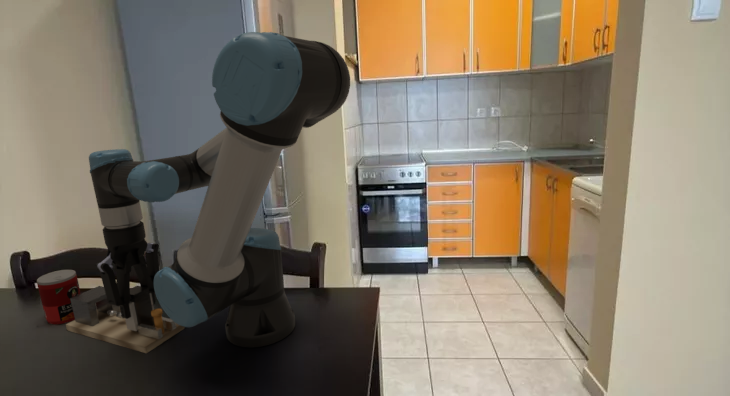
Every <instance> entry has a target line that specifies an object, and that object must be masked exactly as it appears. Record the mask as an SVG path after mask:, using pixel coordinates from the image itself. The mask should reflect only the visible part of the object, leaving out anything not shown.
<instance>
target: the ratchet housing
mask: <svg viewBox="0 0 730 396" xmlns="http://www.w3.org/2000/svg"><path fill="white" fill-rule="evenodd" d="M70 300H71V304H72V308H73V313H74V317H75V321H76V322H78V323H82V324H85V325H89V326H94V325H96V324H98V323H99V319H98V315H97V311H99V312H103V313H107V311H108V310H113V311H117V312H120V309H119V306H115V305H111V304H109V303H108V300H107V296H106V293H105V289H104V286H103V285H102V286H101V285H97V286H96V287H94V288H93V287H92V288H91V289H89V290H86V291H84V292H81V294H79V295H77V296H75V297H72V298H70Z"/></svg>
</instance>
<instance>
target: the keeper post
mask: <svg viewBox="0 0 730 396" xmlns="http://www.w3.org/2000/svg"><path fill="white" fill-rule="evenodd" d="M163 313H164V310H163V309H162V307H160V308H154V310H152V311H151V316H152V317H153V318H154V324H155V327H158V328H161V329H162V334H163V333H164V326H163V321H162V317H163V316H162V315H163Z"/></svg>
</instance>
